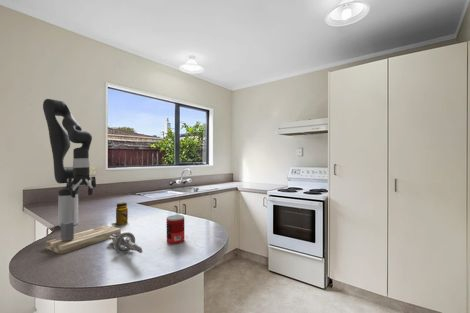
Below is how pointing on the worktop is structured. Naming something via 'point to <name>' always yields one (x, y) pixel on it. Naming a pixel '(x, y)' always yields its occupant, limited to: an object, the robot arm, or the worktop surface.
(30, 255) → the worktop surface
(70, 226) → the fader knob
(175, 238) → the canned food
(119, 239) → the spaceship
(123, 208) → the condiment
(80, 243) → the wooden board
